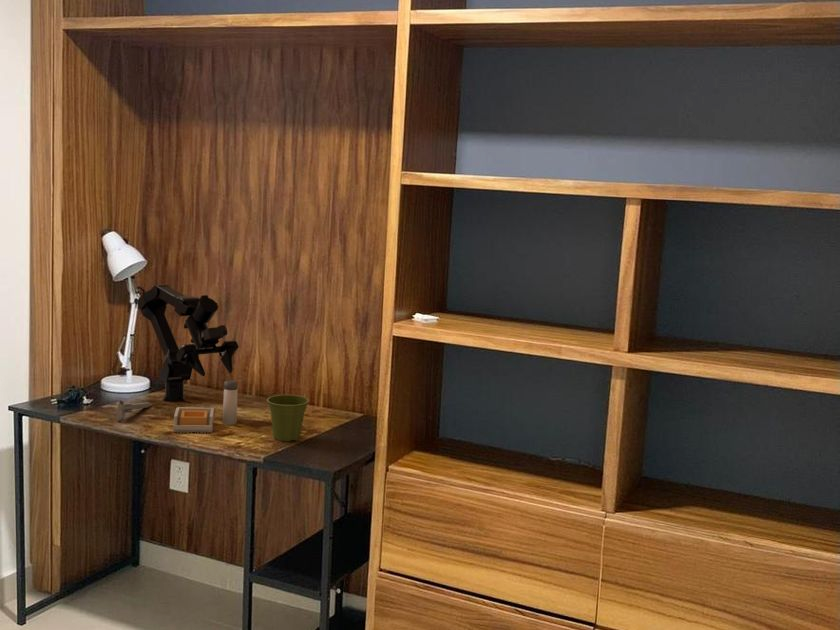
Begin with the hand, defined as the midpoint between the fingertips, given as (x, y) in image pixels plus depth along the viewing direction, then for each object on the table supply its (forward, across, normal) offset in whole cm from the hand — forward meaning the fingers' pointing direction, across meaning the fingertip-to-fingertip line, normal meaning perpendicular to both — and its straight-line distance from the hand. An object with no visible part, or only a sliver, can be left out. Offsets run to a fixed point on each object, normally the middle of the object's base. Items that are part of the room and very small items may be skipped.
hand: (217, 374), depth 256 cm
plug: (+15, 0, +4) cm, 15 cm away
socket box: (+14, -11, +5) cm, 18 cm away
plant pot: (+30, +5, -11) cm, 32 cm away
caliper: (-2, -18, +21) cm, 28 cm away
